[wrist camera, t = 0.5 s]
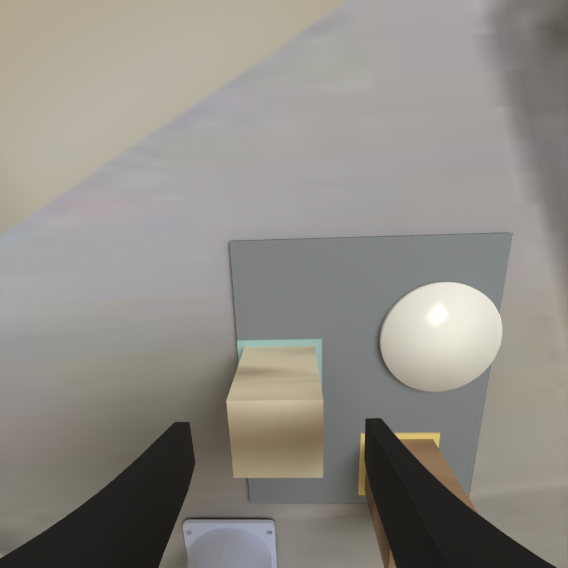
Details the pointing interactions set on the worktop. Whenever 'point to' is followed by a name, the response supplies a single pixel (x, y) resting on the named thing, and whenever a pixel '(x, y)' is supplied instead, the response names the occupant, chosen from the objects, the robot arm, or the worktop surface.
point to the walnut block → (436, 466)
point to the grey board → (361, 342)
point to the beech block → (276, 414)
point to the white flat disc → (440, 336)
